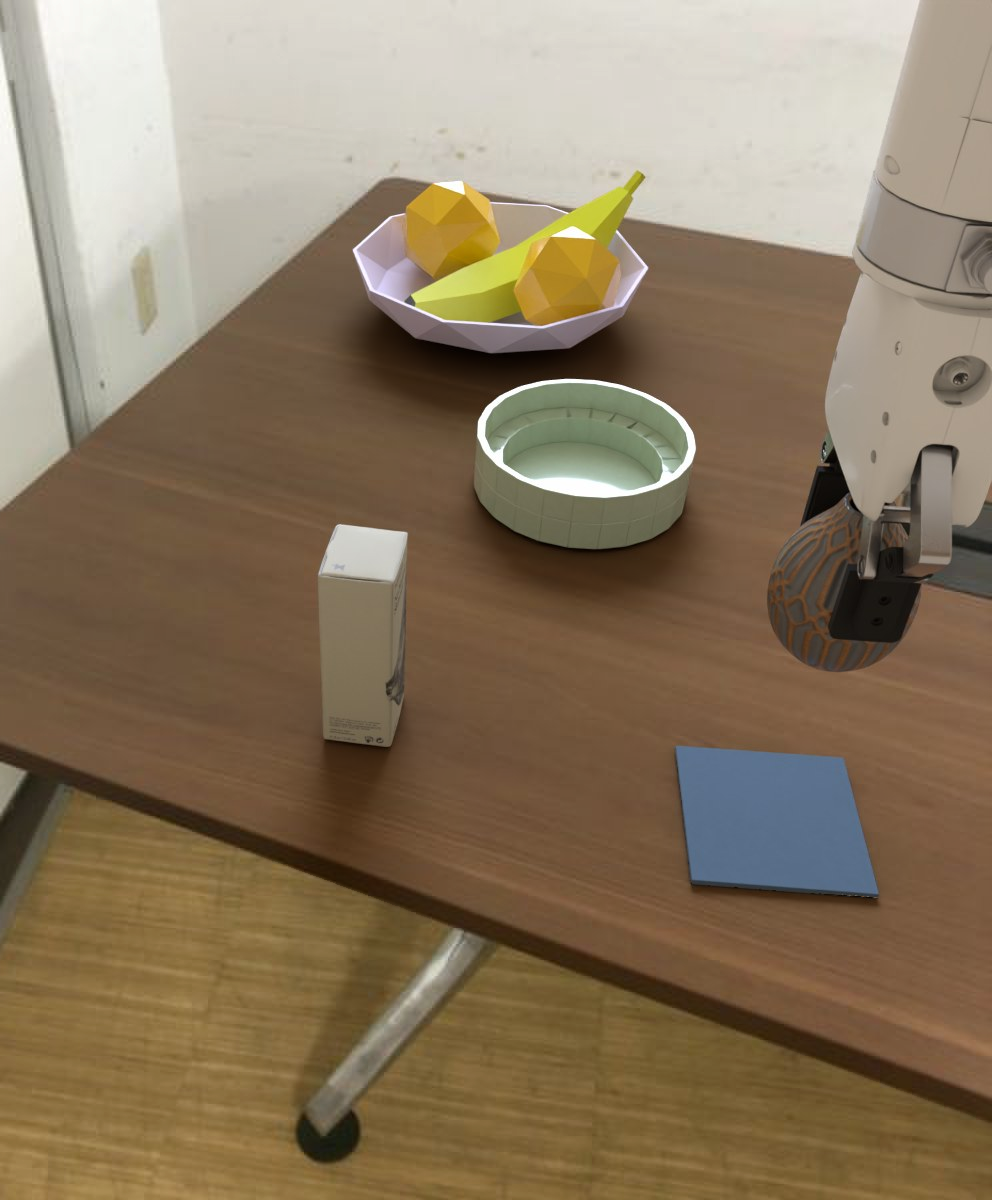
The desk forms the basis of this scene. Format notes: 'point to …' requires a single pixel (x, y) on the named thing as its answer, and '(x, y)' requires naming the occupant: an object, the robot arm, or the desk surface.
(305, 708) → the desk surface
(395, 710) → the box
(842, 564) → the vase
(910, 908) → the desk surface
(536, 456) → the bowl
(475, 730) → the desk surface
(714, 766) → the mat
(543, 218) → the fruit bowl
